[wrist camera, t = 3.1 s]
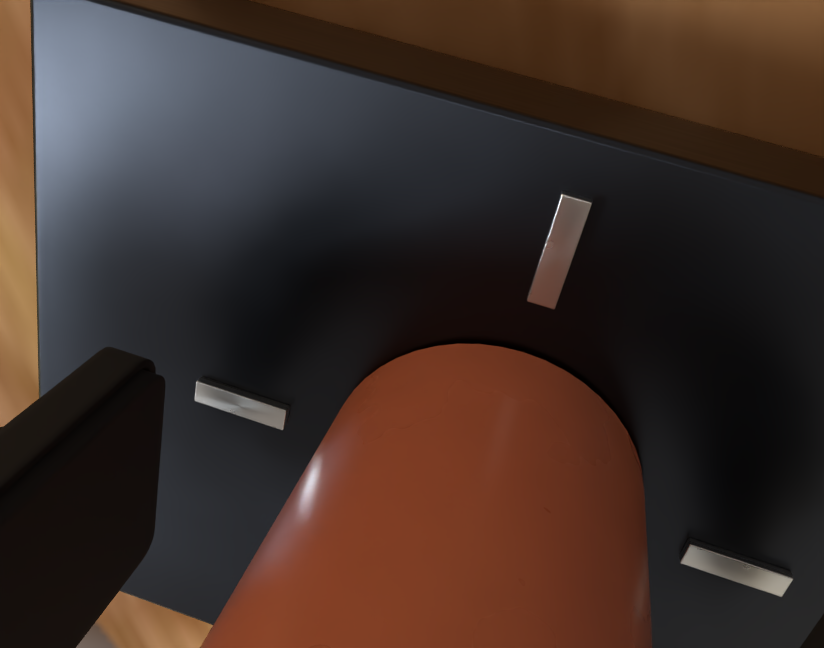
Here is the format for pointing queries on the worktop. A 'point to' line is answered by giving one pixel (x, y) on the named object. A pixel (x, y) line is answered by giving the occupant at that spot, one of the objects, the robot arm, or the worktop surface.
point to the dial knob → (456, 518)
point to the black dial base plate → (427, 280)
